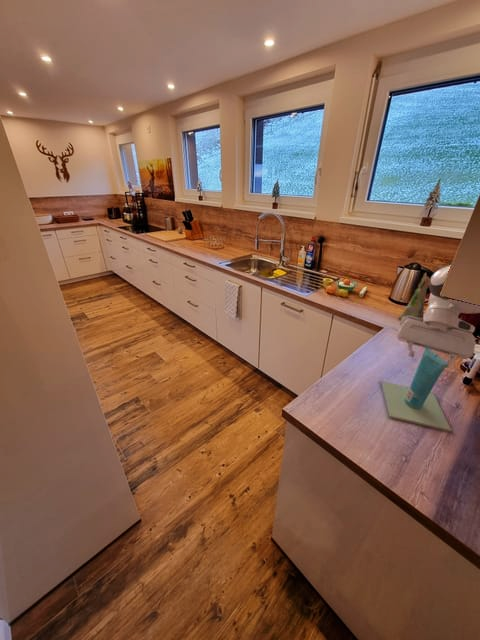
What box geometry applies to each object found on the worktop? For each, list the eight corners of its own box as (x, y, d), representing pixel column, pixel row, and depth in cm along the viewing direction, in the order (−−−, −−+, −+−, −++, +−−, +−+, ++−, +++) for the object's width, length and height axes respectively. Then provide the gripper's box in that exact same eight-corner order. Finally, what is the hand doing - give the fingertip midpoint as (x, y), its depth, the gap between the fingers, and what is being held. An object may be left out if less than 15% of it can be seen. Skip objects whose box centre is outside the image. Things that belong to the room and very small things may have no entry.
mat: (432, 394, 89) (433, 392, 89) (450, 432, 75) (451, 430, 75) (381, 383, 93) (381, 381, 92) (389, 417, 79) (390, 415, 79)
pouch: (408, 327, 130) (428, 279, 118) (392, 316, 140) (408, 271, 128) (427, 326, 132) (448, 279, 120) (409, 315, 142) (427, 270, 130)
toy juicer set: (324, 295, 162) (326, 283, 158) (321, 285, 177) (323, 274, 174) (373, 300, 157) (376, 288, 154) (366, 289, 173) (369, 278, 169)
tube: (428, 410, 82) (455, 360, 72) (417, 413, 80) (443, 363, 71) (408, 393, 88) (430, 345, 78) (397, 396, 86) (418, 348, 77)
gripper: (404, 310, 88) (392, 348, 85) (481, 328, 79) (471, 371, 76) (401, 317, 93) (389, 352, 91) (472, 334, 84) (462, 375, 81)
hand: (427, 361), depth 83 cm, fingers open, 8 cm apart
